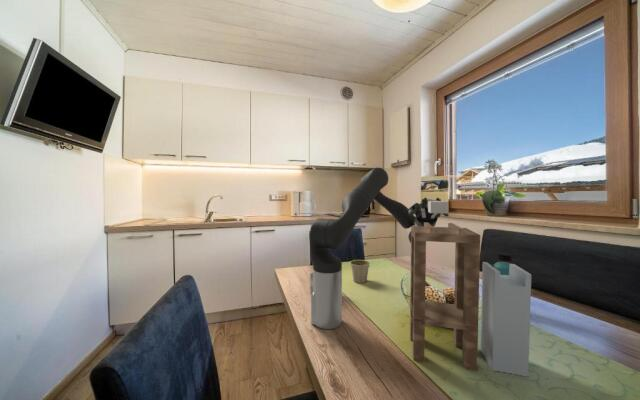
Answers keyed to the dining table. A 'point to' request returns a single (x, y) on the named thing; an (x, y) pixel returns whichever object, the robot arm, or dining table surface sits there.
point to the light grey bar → (437, 206)
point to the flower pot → (360, 270)
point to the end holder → (506, 319)
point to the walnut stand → (466, 291)
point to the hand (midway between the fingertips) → (432, 200)
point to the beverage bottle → (503, 263)
